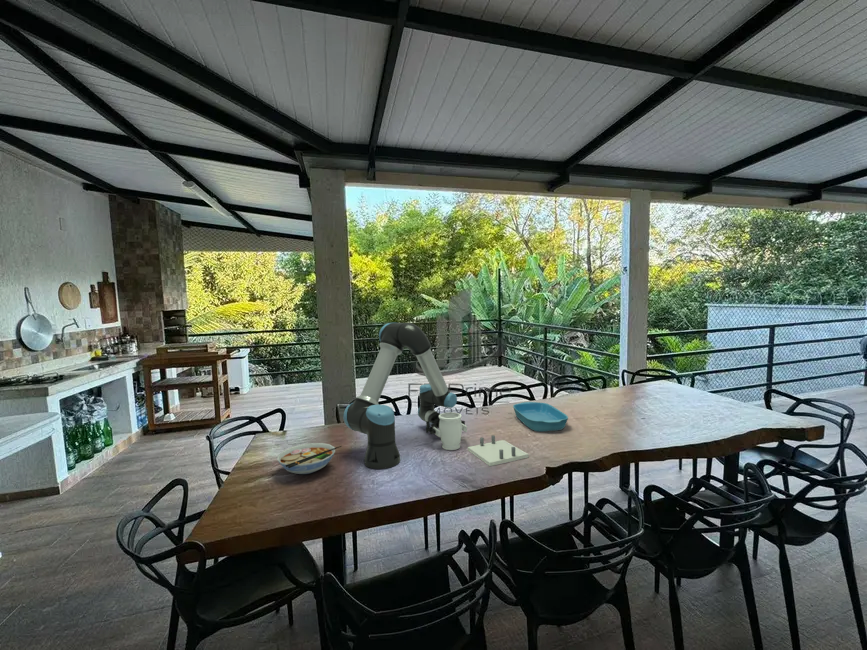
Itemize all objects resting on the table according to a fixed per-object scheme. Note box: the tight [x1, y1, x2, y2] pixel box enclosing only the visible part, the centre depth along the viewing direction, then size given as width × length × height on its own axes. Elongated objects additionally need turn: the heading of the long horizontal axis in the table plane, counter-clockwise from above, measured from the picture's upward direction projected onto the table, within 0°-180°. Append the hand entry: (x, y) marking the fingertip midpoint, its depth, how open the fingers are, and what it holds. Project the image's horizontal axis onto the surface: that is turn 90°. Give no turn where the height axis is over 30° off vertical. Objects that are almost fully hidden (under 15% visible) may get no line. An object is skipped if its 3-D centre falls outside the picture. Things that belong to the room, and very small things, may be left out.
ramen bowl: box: [276, 442, 342, 475], centre depth 158 cm, size 25×23×8 cm
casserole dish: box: [512, 401, 569, 433], centre depth 208 cm, size 37×22×7 cm, turn 8°
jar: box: [438, 411, 463, 451], centre depth 177 cm, size 11×10×15 cm
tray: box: [467, 434, 529, 467], centre depth 168 cm, size 19×19×5 cm
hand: (453, 431), depth 176 cm, fingers open, 13 cm apart
